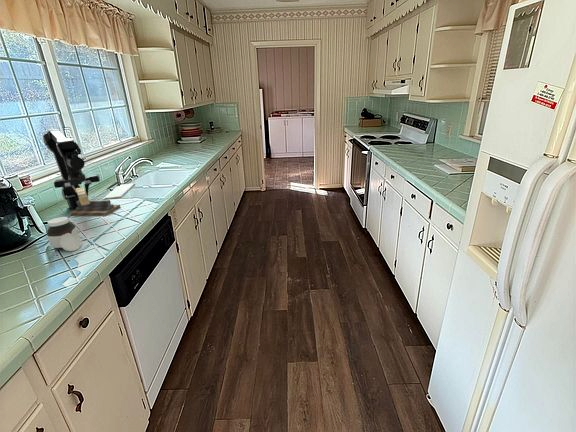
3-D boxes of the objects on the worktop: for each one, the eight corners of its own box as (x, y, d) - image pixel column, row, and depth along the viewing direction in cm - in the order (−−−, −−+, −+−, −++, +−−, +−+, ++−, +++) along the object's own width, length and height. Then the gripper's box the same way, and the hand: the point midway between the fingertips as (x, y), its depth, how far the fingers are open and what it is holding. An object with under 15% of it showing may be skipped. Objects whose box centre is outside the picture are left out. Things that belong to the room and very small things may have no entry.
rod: (77, 195, 165) (75, 188, 163) (85, 194, 166) (83, 187, 165) (81, 205, 150) (79, 197, 148) (89, 203, 151) (87, 195, 150)
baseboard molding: (99, 200, 188) (121, 198, 189) (98, 196, 187) (120, 194, 188) (117, 186, 216) (135, 185, 218) (116, 182, 215) (134, 181, 217)
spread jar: (66, 241, 133) (57, 215, 129) (92, 240, 133) (84, 214, 128) (45, 255, 122) (34, 227, 118) (73, 253, 121) (63, 226, 117)
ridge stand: (71, 215, 164) (67, 204, 162) (87, 207, 175) (84, 197, 173) (105, 215, 161) (102, 204, 159) (120, 207, 172) (117, 196, 170)
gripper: (47, 173, 141) (58, 205, 147) (94, 167, 149) (103, 198, 155) (51, 168, 150) (61, 199, 156) (95, 162, 158) (103, 192, 164)
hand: (82, 197), depth 158 cm, fingers closed on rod, 4 cm apart
